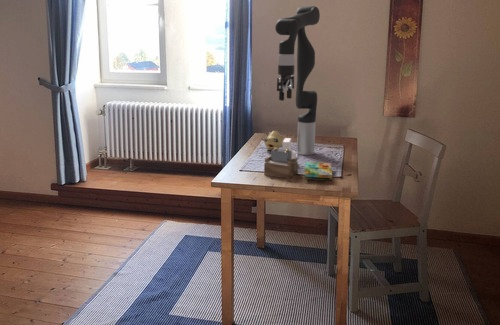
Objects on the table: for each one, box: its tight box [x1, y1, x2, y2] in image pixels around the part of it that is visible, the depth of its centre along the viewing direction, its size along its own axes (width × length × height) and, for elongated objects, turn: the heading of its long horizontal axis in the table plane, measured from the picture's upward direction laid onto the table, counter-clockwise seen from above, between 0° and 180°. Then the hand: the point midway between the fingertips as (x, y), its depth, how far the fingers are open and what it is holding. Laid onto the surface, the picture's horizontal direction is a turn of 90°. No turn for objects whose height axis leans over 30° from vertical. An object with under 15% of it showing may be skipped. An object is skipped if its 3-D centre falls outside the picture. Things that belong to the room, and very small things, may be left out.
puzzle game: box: [304, 161, 333, 181], centre depth 216 cm, size 12×5×20 cm
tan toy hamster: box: [264, 130, 284, 151], centre depth 262 cm, size 10×12×11 cm
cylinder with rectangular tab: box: [282, 137, 297, 159], centre depth 235 cm, size 9×9×12 cm
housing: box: [270, 148, 293, 163], centre depth 217 cm, size 8×4×6 cm, turn 62°
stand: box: [263, 155, 299, 179], centre depth 218 cm, size 10×12×8 cm
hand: (285, 99), depth 225 cm, fingers open, 8 cm apart
